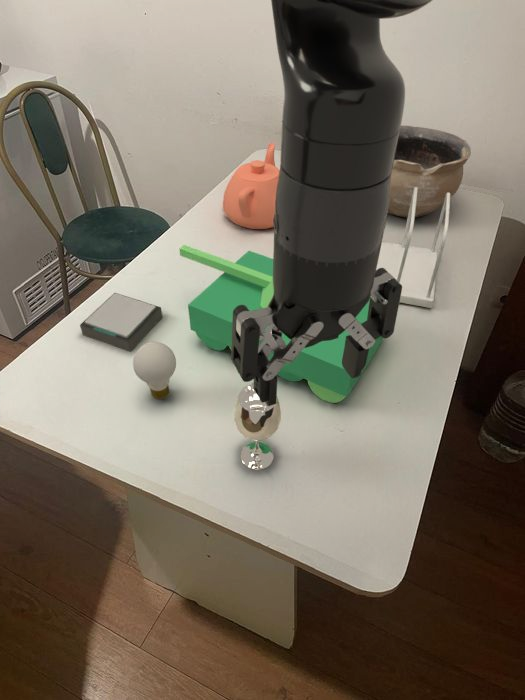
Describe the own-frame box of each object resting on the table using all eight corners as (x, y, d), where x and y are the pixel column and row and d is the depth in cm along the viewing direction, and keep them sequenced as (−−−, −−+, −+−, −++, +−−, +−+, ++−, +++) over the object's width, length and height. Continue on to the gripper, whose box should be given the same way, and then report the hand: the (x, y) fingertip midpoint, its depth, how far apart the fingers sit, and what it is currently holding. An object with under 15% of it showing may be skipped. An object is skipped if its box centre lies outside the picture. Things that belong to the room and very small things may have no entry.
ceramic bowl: (350, 224, 113) (360, 157, 102) (358, 180, 128) (368, 118, 117) (454, 237, 109) (475, 169, 99) (450, 190, 125) (468, 127, 114)
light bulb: (136, 387, 78) (125, 339, 71) (174, 376, 79) (167, 328, 72) (146, 416, 74) (135, 368, 67) (185, 404, 76) (179, 356, 69)
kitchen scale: (130, 351, 83) (127, 339, 81) (82, 334, 86) (78, 322, 84) (162, 316, 90) (160, 304, 88) (117, 302, 92) (114, 290, 90)
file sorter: (435, 257, 104) (457, 185, 93) (431, 310, 92) (455, 234, 81) (314, 237, 109) (321, 166, 98) (294, 285, 97) (300, 210, 86)
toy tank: (210, 219, 90) (402, 282, 77) (214, 276, 98) (387, 342, 86) (144, 268, 79) (355, 352, 66) (155, 328, 87) (343, 412, 75)
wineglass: (278, 474, 67) (282, 417, 59) (234, 473, 67) (232, 416, 59) (278, 438, 71) (281, 380, 63) (236, 437, 71) (234, 379, 63)
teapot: (242, 187, 124) (241, 136, 116) (303, 197, 121) (306, 145, 113) (209, 233, 109) (205, 178, 101) (277, 245, 106) (279, 190, 98)
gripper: (255, 282, 31) (254, 441, 42) (446, 233, 35) (399, 390, 47) (213, 222, 36) (222, 379, 47) (384, 186, 40) (355, 338, 51)
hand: (310, 384), depth 47 cm, fingers open, 8 cm apart
